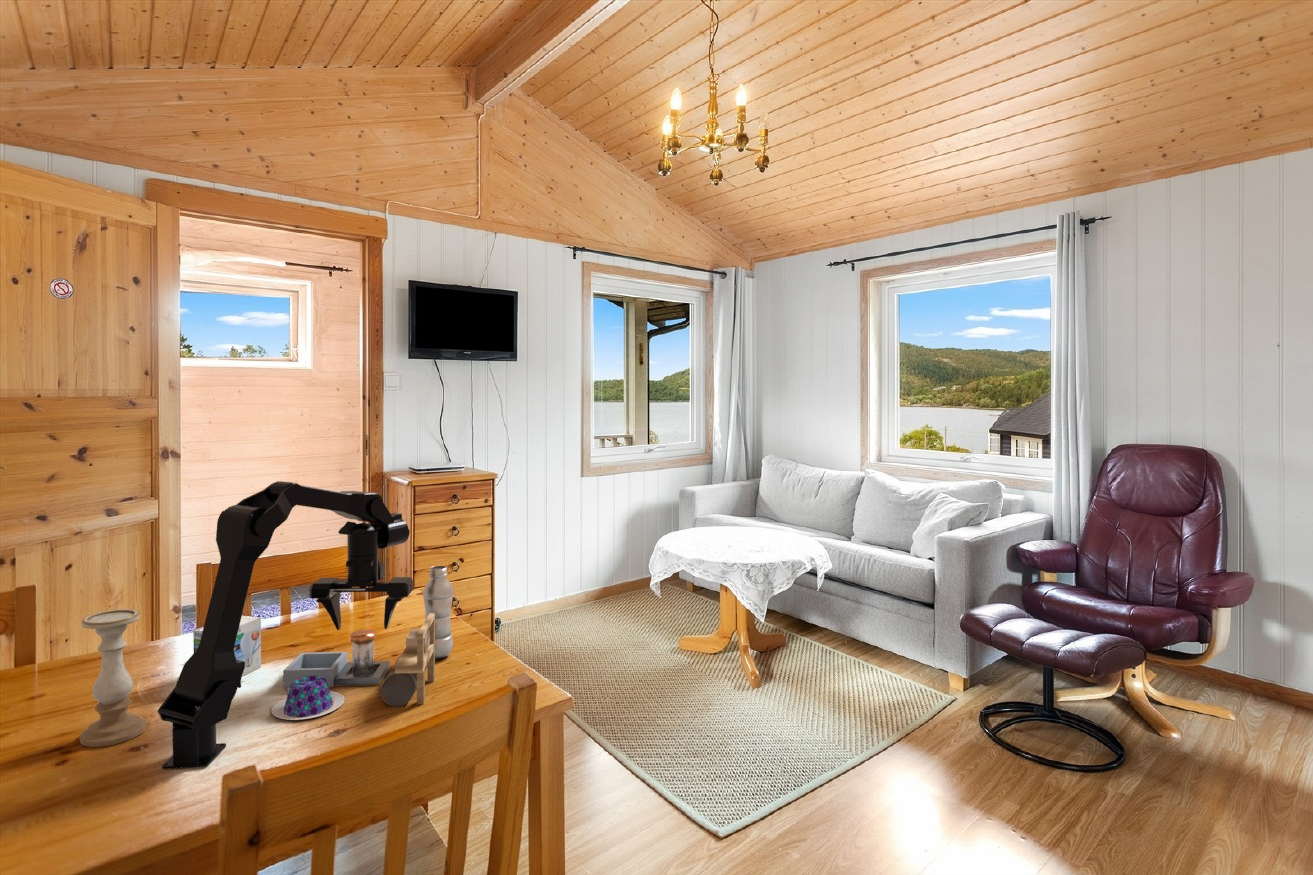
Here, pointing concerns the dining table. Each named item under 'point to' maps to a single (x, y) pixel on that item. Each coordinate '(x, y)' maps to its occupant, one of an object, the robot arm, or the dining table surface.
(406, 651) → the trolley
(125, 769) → the dining table surface
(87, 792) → the dining table surface
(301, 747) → the dining table surface
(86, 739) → the candle holder
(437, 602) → the plastic bottle
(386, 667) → the collar
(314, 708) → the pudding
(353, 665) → the grey brown-topped cylinder
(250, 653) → the light bulb box
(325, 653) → the tray
